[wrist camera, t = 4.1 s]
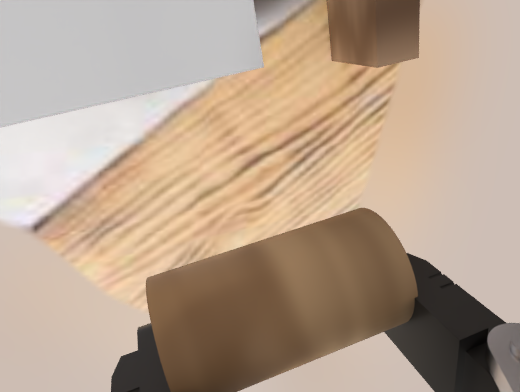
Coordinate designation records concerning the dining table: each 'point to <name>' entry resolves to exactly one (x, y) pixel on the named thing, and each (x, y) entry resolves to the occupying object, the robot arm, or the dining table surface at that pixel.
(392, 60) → the rail
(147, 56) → the slab
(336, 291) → the roller
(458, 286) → the robot arm
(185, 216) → the dining table surface
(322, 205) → the dining table surface
